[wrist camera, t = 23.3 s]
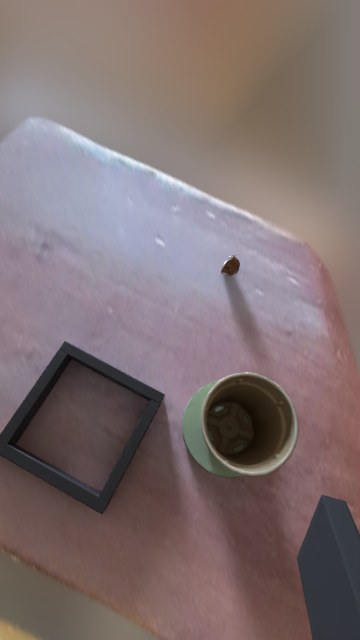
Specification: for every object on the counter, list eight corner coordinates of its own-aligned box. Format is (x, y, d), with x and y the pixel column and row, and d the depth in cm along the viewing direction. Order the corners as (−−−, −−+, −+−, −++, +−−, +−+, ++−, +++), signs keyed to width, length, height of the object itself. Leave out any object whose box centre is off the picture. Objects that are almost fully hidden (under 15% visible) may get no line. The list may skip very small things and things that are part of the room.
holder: (105, 510, 36) (102, 514, 33) (-1, 449, 37) (-11, 449, 34) (163, 397, 41) (165, 394, 38) (69, 346, 42) (64, 340, 39)
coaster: (197, 490, 37) (198, 490, 37) (171, 394, 41) (172, 393, 40) (286, 460, 39) (288, 460, 39) (253, 371, 43) (255, 370, 42)
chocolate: (227, 283, 47) (235, 269, 43) (215, 273, 48) (222, 259, 44) (240, 270, 48) (248, 255, 44) (228, 261, 48) (236, 245, 45)
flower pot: (222, 371, 42) (241, 353, 34) (282, 423, 40) (317, 417, 32) (172, 430, 39) (180, 425, 31) (235, 489, 37) (260, 500, 29)
